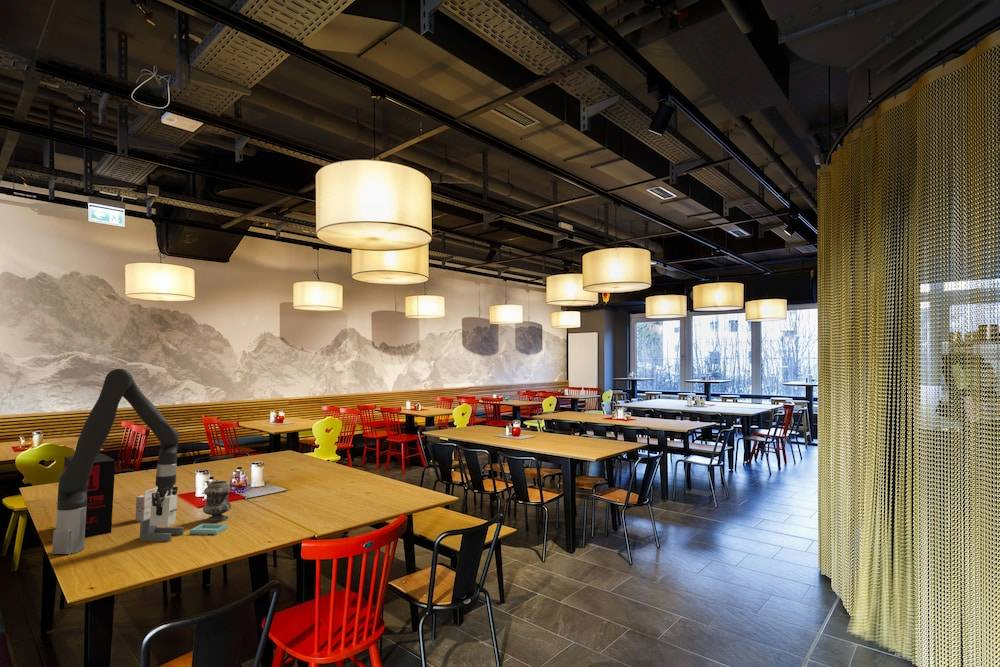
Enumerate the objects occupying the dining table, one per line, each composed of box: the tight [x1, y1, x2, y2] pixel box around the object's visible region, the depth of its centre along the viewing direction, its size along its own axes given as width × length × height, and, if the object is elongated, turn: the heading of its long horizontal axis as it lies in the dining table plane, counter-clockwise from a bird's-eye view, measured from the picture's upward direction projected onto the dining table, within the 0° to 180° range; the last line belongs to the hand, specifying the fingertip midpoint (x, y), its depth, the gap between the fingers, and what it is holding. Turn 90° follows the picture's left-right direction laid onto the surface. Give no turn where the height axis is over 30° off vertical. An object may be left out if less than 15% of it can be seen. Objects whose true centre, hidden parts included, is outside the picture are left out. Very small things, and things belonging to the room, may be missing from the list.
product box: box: [63, 453, 116, 538], centre depth 235 cm, size 26×14×32 cm, turn 48°
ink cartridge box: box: [135, 486, 158, 522], centre depth 251 cm, size 9×5×15 cm, turn 168°
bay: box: [139, 518, 185, 542], centre depth 224 cm, size 10×13×8 cm
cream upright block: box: [150, 494, 178, 527], centre depth 224 cm, size 5×9×12 cm, turn 88°
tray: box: [189, 523, 229, 536], centre depth 233 cm, size 9×12×2 cm
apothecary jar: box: [202, 480, 232, 523], centre depth 251 cm, size 12×12×18 cm
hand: (163, 513), depth 224 cm, fingers closed on cream upright block, 5 cm apart
